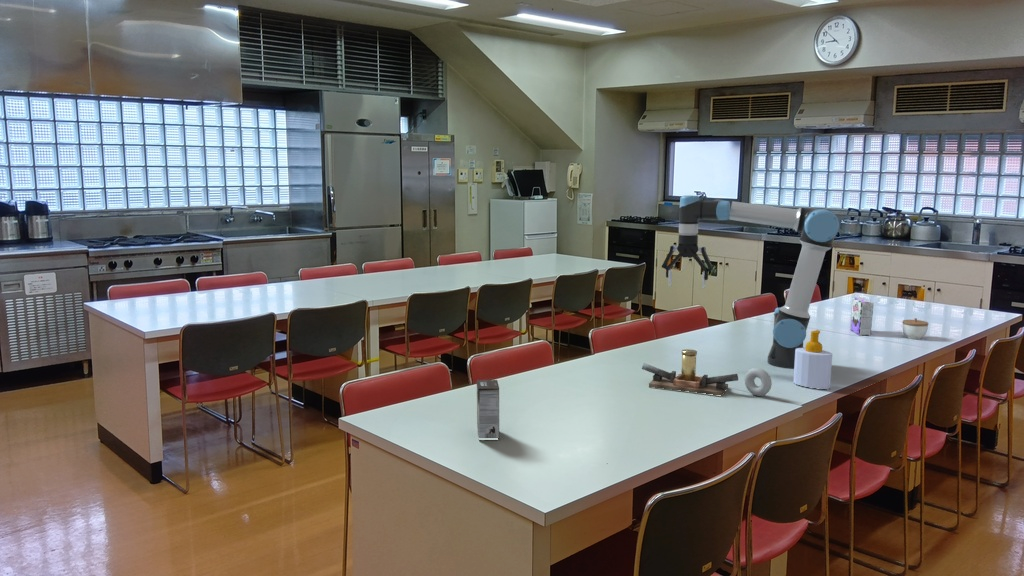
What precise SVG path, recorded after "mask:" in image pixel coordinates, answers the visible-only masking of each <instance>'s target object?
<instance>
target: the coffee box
mask: <svg viewBox="0 0 1024 576" xmlns="http://www.w3.org/2000/svg"><path fill="white" fill-rule="evenodd" d="M476 424H477V425H476V426H477V437H479V438H499V439H500V385H499V383H498V380H497V379H477V380H476Z"/></svg>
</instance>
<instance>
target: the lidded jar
mask: <svg viewBox="0 0 1024 576" xmlns="http://www.w3.org/2000/svg"><path fill="white" fill-rule="evenodd" d="M901 326H902V332H903V334H904V336H906V338H907V339H910V340H921V339H922V338H923V337H925V336H926V334H927V332H928V328H929V327H928V326H929V322H928V321H926V320H921V319H918V318H916V317H915V318H914V319H903V320H902V325H901Z"/></svg>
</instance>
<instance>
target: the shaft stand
mask: <svg viewBox="0 0 1024 576" xmlns="http://www.w3.org/2000/svg"><path fill="white" fill-rule="evenodd" d="M641 369H642V370H644V371H647V372H649V373H652V374H653V375H652V380H651V381H650V382H649V383H648V388H650V387H655V388H654V389H658V388H664V389H663V390H665V389H672V390H671V391H673V390H681V391H689V392H697V393H706V394H713V395H721V396H722V397H723V395H724V394H725V393H726V391H727V390H728V389H729V383H730V382H736V381H737V382H738V381H739V374H738V373H733V374H726V375H725V374H724V375H717V376H709V375H708V374H704V375H703V376H700V375H695V380H696V382H692V381H684V380H681V373H679V374H677V371H676V370H672V371H670V372H669V371H666V370H664V369H661V368H659V367H656V366H654V365H650V364H648V363H645V362H643V365H642V367H641ZM708 376H709V377H708ZM728 382H729V383H728ZM727 388H728V389H727ZM726 389H727V390H726ZM725 390H726V391H725ZM681 391H680V392H681ZM724 392H725V393H724ZM723 393H724V394H723ZM722 394H723V395H722Z"/></svg>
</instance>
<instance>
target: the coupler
mask: <svg viewBox="0 0 1024 576" xmlns="http://www.w3.org/2000/svg"><path fill="white" fill-rule="evenodd" d="M697 355H698V351H697V350H695V349H689V348H686V349H682V350H681V373H680V374H681V380H684V381H692V382H696V380H695V376H697V375H696V374H697V373H696V371H697Z"/></svg>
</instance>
